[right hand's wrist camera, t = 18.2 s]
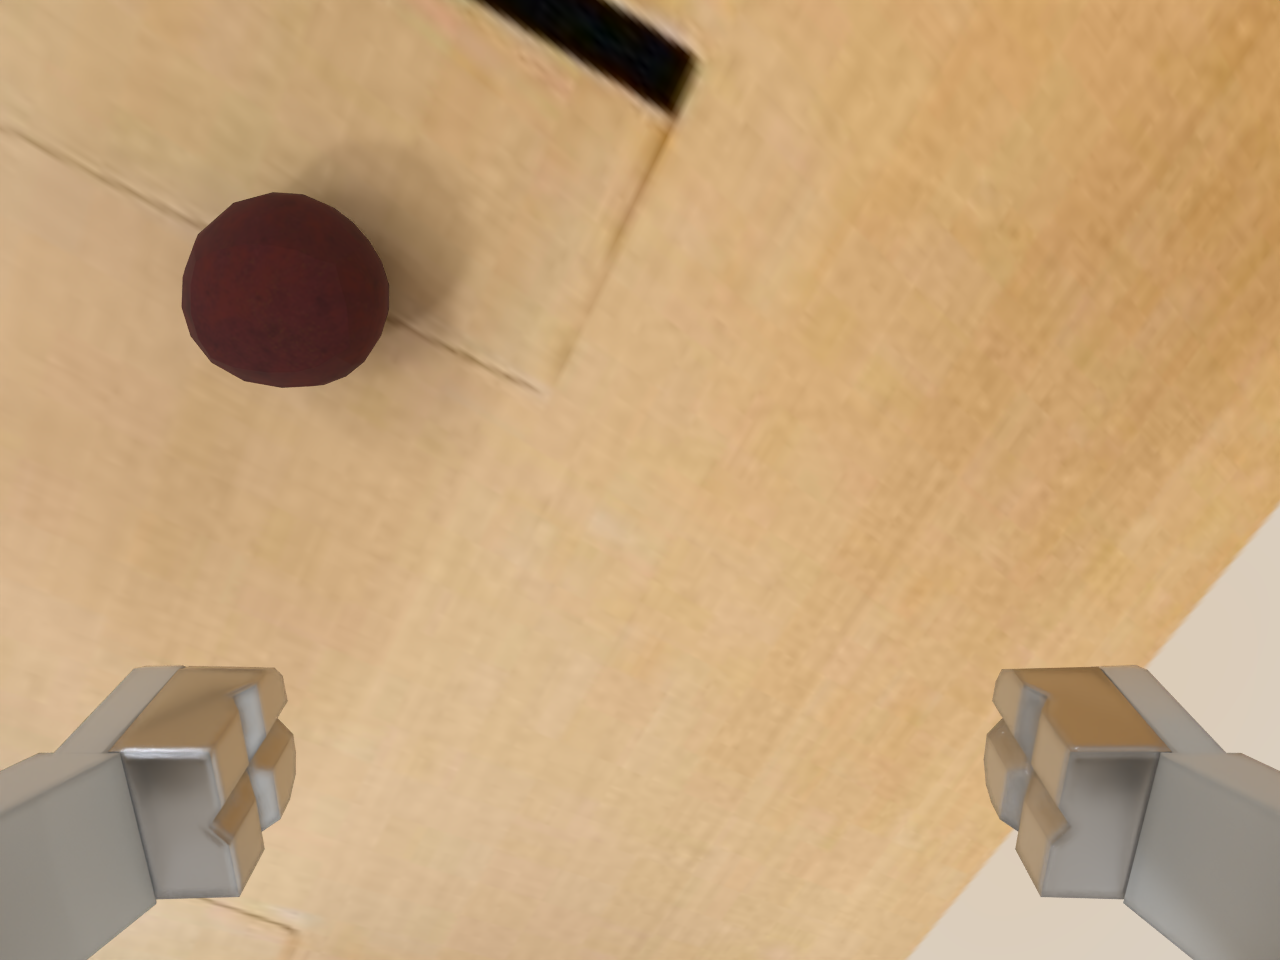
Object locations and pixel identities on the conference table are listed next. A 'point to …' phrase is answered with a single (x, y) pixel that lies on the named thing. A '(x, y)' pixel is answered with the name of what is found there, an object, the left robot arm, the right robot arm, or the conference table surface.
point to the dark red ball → (284, 292)
